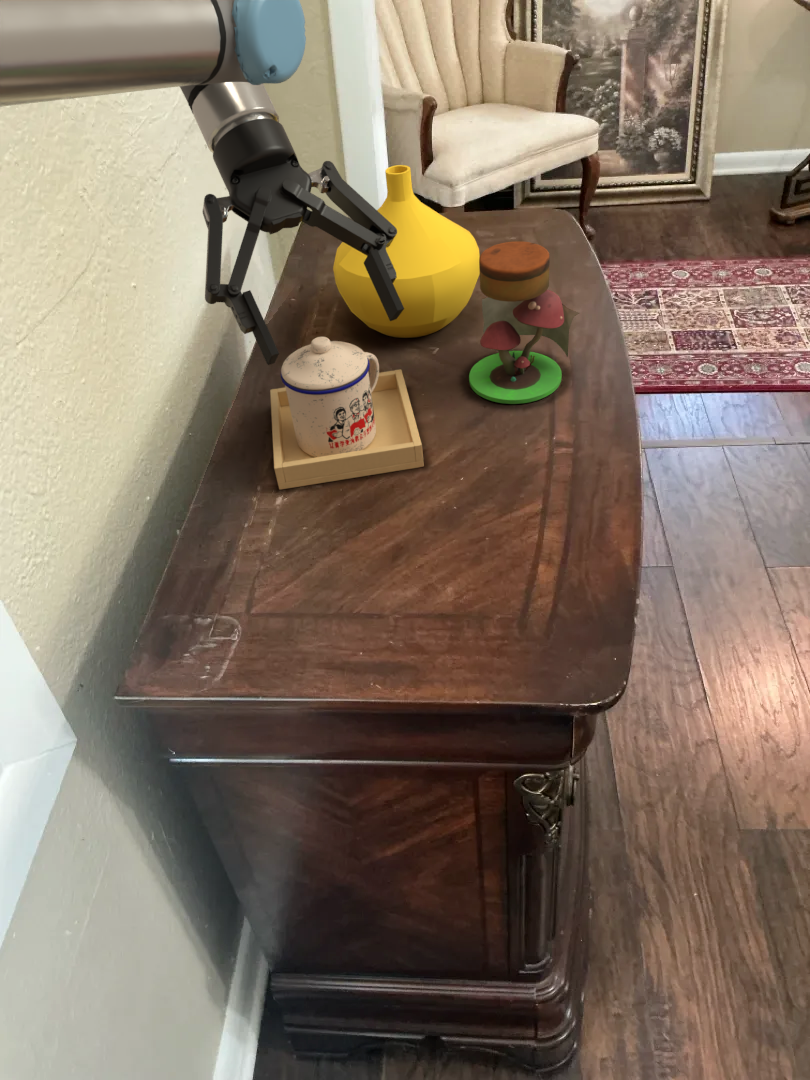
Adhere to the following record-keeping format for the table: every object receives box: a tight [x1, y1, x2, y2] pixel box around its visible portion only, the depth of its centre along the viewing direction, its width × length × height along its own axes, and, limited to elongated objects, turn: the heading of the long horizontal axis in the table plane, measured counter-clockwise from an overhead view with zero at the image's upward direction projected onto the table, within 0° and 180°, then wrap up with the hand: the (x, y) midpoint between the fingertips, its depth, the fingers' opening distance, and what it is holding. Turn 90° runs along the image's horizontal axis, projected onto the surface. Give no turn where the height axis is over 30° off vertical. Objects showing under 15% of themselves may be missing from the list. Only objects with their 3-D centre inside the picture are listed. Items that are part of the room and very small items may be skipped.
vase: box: [332, 164, 481, 339], centre depth 106 cm, size 18×18×19 cm
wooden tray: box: [269, 369, 425, 491], centre depth 94 cm, size 15×15×3 cm
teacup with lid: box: [280, 336, 380, 457], centre depth 90 cm, size 12×9×12 cm
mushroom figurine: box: [468, 240, 580, 405], centre depth 95 cm, size 12×13×15 cm
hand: (337, 337), depth 84 cm, fingers open, 13 cm apart
